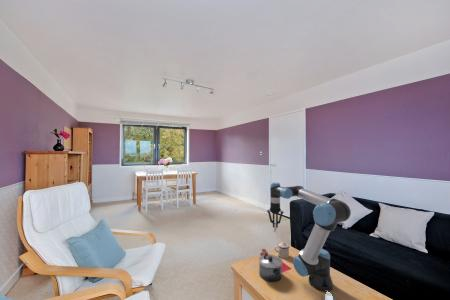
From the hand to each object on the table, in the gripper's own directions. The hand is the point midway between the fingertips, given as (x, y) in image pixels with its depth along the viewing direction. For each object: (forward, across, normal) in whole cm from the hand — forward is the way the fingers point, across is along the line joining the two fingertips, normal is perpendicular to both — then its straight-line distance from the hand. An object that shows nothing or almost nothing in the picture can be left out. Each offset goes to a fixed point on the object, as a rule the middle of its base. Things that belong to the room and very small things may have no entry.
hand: (275, 231), depth 160 cm
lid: (+17, +4, +12) cm, 21 cm away
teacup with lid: (+27, -4, -16) cm, 31 cm away
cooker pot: (+26, +4, +13) cm, 30 cm away
